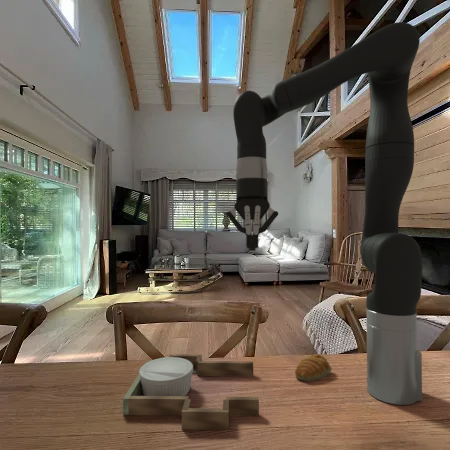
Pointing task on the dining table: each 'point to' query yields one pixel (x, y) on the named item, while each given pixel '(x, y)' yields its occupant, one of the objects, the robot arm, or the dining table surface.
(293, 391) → the dining table surface
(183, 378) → the ramekin
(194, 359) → the box
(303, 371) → the pastry
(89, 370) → the dining table surface
